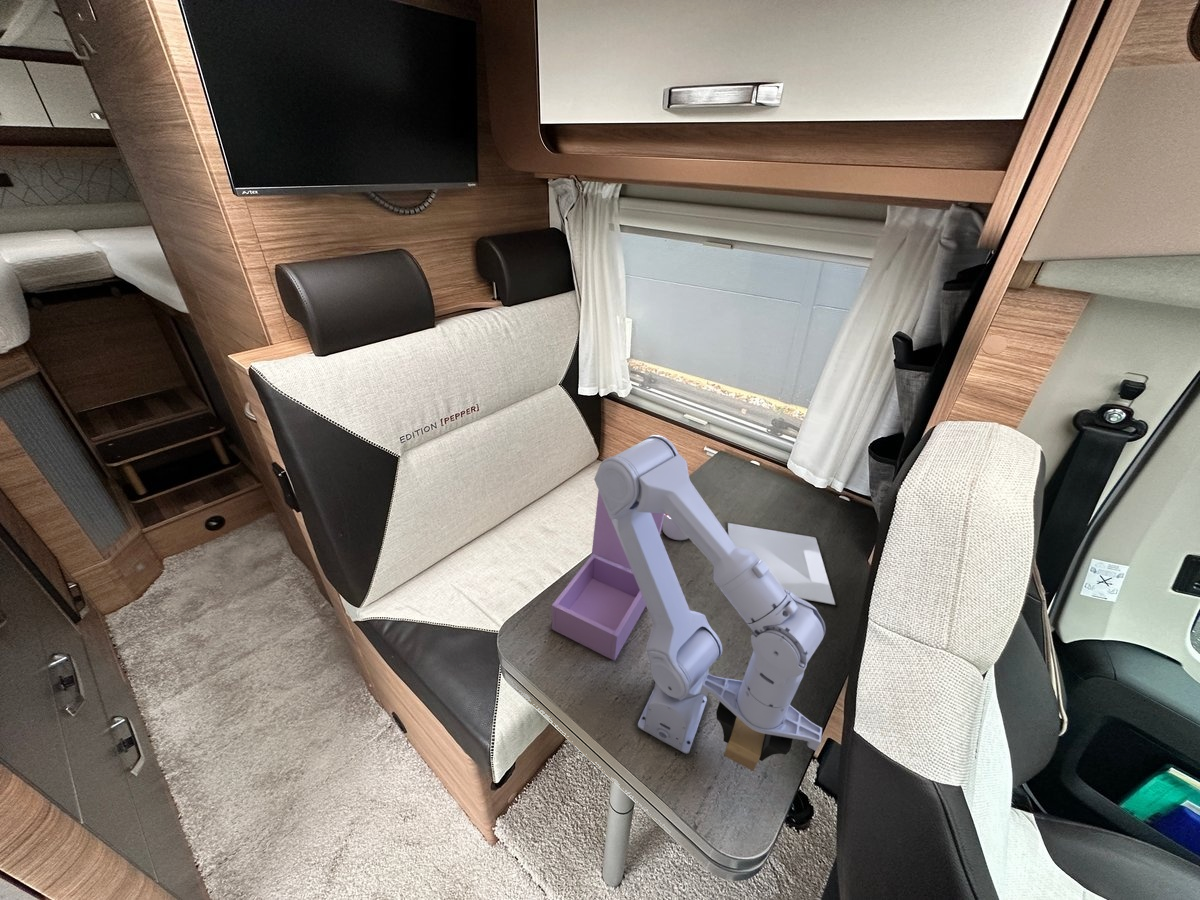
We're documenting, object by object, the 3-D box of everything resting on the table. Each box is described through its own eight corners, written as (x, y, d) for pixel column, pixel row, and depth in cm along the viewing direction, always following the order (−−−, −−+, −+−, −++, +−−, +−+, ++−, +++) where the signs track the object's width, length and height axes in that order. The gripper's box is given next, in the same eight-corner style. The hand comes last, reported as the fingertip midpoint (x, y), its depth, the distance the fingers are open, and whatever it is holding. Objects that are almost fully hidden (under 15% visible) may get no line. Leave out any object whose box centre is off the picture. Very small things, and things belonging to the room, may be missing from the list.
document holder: (730, 585, 94) (834, 604, 91) (731, 584, 94) (835, 604, 91) (727, 523, 111) (815, 538, 108) (727, 522, 111) (815, 537, 108)
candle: (689, 549, 103) (693, 527, 100) (651, 535, 106) (654, 513, 103) (701, 526, 110) (706, 505, 107) (666, 514, 113) (669, 492, 110)
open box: (614, 661, 79) (617, 636, 75) (551, 629, 83) (551, 605, 80) (648, 601, 90) (651, 578, 87) (591, 576, 95) (592, 553, 91)
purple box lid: (664, 507, 79) (665, 505, 80) (598, 484, 84) (600, 483, 85) (651, 578, 86) (652, 575, 87) (591, 553, 91) (593, 551, 91)
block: (753, 771, 62) (760, 756, 60) (723, 755, 63) (729, 739, 61) (759, 744, 65) (766, 728, 63) (731, 729, 66) (737, 713, 64)
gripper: (836, 685, 57) (804, 745, 64) (719, 634, 62) (701, 693, 69) (830, 738, 51) (797, 797, 58) (703, 676, 57) (686, 737, 64)
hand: (744, 744), depth 63 cm, fingers closed on block, 4 cm apart
